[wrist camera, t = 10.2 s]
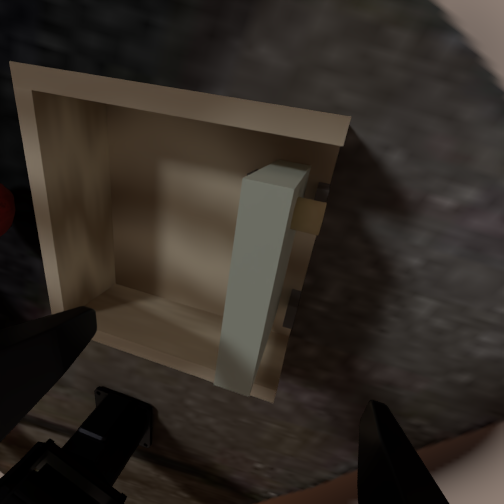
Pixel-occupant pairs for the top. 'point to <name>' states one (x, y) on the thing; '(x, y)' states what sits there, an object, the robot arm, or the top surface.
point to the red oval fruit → (6, 209)
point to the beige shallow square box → (159, 206)
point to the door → (261, 265)
